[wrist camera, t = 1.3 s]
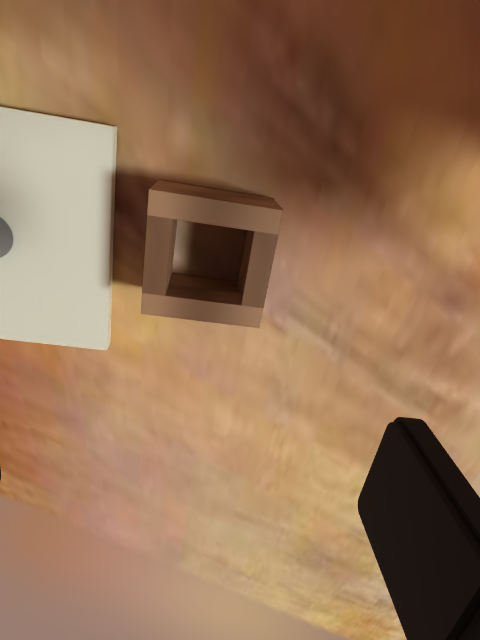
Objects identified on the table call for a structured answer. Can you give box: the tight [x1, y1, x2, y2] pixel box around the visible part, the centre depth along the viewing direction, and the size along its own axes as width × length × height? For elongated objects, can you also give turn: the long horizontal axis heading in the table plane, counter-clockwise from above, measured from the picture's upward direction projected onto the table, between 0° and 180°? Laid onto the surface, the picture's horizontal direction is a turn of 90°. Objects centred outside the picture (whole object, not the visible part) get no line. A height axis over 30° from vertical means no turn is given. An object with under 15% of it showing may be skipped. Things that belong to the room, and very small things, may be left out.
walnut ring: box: [141, 180, 283, 328], centre depth 24 cm, size 7×7×4 cm
